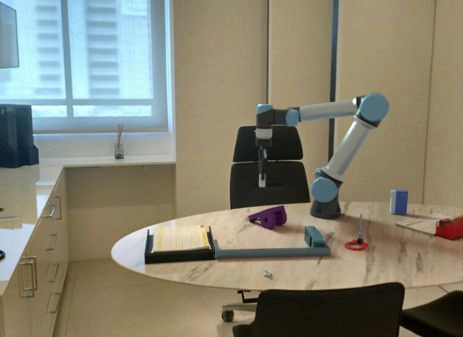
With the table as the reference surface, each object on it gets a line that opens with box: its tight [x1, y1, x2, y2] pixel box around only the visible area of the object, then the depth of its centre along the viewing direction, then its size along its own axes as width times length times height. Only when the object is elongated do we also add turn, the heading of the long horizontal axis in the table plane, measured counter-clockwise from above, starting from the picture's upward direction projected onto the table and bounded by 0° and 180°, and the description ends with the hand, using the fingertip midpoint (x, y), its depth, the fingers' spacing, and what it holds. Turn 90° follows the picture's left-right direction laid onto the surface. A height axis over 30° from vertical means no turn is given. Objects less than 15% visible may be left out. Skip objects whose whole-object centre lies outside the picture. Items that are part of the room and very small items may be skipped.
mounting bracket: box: [247, 204, 288, 230], centre depth 222 cm, size 9×8×18 cm
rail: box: [212, 225, 331, 260], centre depth 192 cm, size 44×24×6 cm, turn 95°
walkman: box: [389, 189, 409, 215], centre depth 241 cm, size 8×3×12 cm, turn 88°
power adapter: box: [263, 266, 272, 277], centre depth 164 cm, size 3×3×3 cm
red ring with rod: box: [343, 213, 369, 252], centre depth 192 cm, size 8×13×9 cm
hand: (262, 186), depth 231 cm, fingers closed
